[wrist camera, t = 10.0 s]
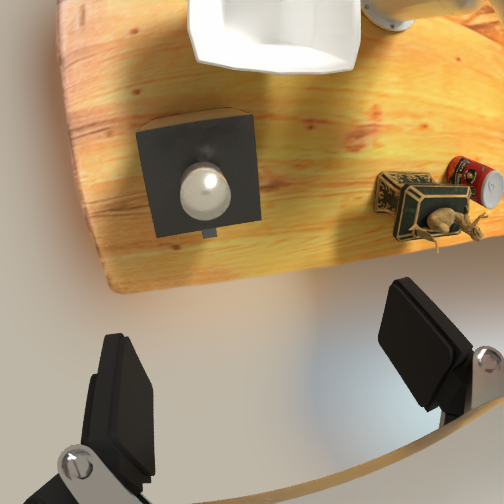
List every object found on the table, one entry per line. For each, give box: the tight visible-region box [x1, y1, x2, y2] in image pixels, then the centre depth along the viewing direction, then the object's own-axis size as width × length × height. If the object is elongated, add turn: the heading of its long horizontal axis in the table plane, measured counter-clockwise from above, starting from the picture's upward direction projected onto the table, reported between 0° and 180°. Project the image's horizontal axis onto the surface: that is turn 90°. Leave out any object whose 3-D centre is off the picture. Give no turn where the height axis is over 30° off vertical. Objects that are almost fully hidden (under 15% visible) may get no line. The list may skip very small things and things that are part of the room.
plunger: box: [180, 162, 231, 220], centre depth 33 cm, size 9×9×20 cm
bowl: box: [187, 0, 361, 75], centre depth 29 cm, size 19×19×14 cm
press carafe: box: [136, 107, 261, 239], centre depth 37 cm, size 14×11×16 cm
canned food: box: [447, 156, 504, 209], centre depth 50 cm, size 8×8×11 cm
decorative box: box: [374, 171, 488, 254], centre depth 45 cm, size 20×10×20 cm, turn 91°
